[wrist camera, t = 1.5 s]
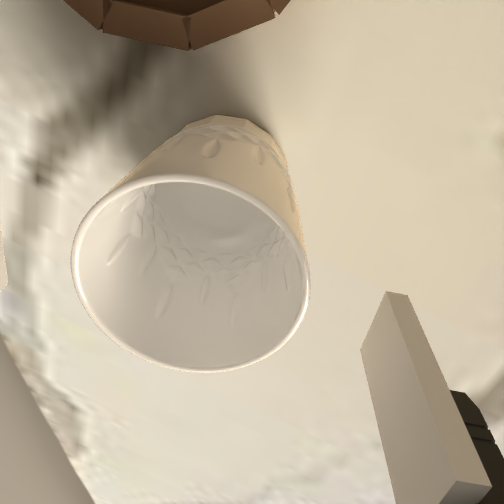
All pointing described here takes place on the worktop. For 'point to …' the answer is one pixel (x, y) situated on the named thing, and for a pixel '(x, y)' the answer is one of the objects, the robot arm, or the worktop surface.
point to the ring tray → (177, 19)
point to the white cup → (197, 251)
